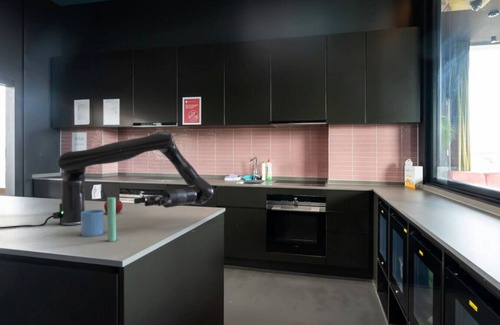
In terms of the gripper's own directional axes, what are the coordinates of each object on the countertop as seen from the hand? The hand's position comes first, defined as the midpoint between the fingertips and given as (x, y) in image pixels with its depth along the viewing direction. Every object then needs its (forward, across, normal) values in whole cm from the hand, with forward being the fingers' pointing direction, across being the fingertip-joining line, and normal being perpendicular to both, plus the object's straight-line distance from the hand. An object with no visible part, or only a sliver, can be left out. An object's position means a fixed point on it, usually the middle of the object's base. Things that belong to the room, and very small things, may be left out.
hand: (139, 202), depth 123 cm
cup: (+12, -15, +13) cm, 24 cm away
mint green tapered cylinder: (+11, 0, +13) cm, 17 cm away
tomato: (-12, -52, +13) cm, 54 cm away
